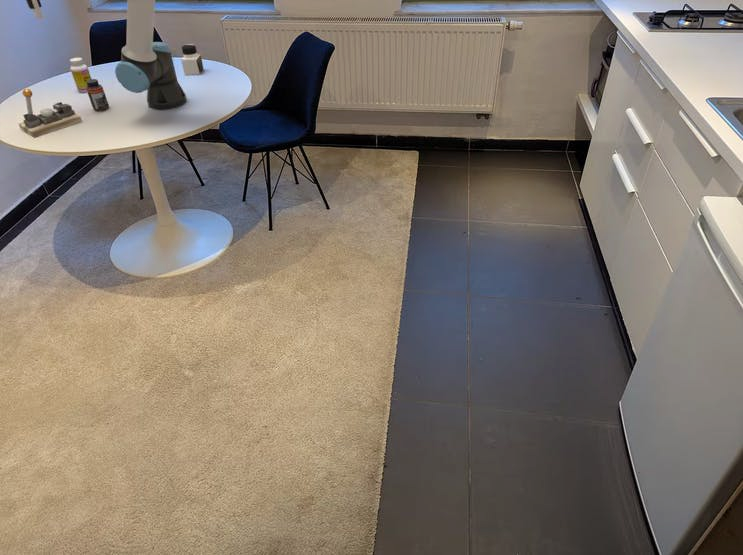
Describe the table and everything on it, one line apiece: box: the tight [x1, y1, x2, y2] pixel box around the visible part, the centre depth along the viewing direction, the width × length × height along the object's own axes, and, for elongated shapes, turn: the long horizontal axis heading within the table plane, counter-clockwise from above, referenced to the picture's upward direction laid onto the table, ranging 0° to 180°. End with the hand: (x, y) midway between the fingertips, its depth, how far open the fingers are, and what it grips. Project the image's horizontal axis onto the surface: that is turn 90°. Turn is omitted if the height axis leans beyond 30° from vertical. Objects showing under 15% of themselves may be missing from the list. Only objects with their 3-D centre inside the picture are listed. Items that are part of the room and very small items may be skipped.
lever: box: [22, 88, 34, 116], centre depth 196 cm, size 3×3×11 cm
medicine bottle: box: [180, 43, 205, 76], centre depth 244 cm, size 7×7×12 cm
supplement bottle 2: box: [86, 78, 110, 112], centre depth 212 cm, size 6×6×11 cm
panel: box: [18, 101, 83, 138], centre depth 202 cm, size 12×18×6 cm, turn 140°
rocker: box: [52, 103, 73, 111], centre depth 205 cm, size 4×5×2 cm
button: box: [39, 108, 54, 118], centre depth 202 cm, size 4×4×2 cm
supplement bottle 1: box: [69, 57, 92, 93], centre depth 230 cm, size 7×7×13 cm
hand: (39, 18), depth 193 cm, fingers closed
